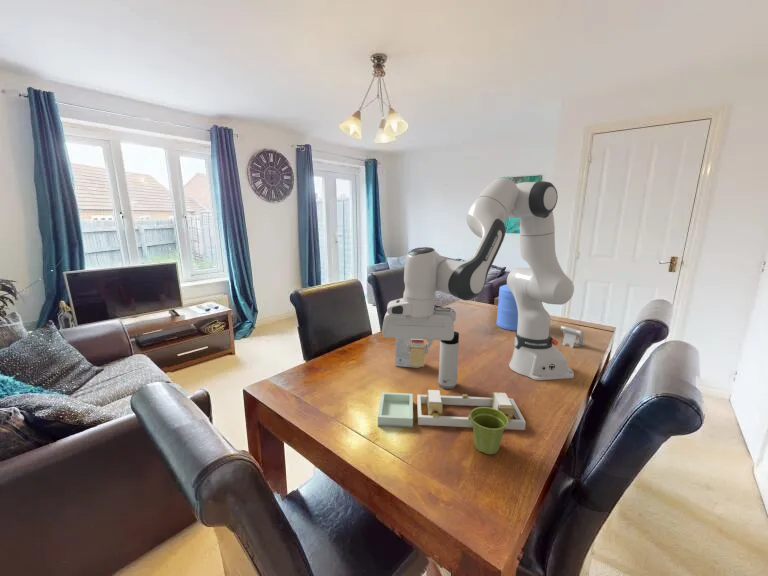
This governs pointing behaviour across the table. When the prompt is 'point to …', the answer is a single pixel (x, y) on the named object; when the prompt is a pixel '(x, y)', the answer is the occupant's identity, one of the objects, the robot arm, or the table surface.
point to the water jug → (507, 309)
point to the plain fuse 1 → (434, 402)
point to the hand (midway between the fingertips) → (416, 352)
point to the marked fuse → (417, 352)
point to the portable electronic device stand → (572, 336)
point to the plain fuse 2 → (502, 403)
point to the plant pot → (488, 428)
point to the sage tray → (396, 410)
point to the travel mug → (448, 362)
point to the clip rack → (466, 421)
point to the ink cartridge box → (402, 354)
